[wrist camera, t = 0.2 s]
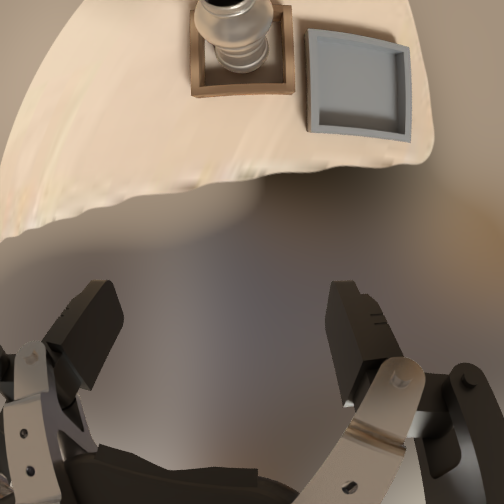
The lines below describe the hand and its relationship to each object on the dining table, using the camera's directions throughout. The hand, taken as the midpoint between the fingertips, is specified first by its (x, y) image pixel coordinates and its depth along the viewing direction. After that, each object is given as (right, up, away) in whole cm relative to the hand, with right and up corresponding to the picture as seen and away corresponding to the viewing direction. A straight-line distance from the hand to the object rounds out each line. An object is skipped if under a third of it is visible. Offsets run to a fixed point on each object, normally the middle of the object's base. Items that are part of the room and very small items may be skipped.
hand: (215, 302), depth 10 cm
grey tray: (+15, +24, +20) cm, 35 cm away
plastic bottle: (0, +27, +19) cm, 33 cm away
